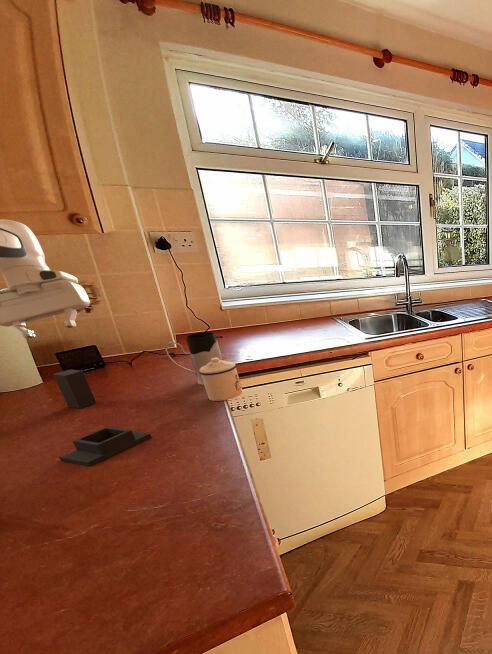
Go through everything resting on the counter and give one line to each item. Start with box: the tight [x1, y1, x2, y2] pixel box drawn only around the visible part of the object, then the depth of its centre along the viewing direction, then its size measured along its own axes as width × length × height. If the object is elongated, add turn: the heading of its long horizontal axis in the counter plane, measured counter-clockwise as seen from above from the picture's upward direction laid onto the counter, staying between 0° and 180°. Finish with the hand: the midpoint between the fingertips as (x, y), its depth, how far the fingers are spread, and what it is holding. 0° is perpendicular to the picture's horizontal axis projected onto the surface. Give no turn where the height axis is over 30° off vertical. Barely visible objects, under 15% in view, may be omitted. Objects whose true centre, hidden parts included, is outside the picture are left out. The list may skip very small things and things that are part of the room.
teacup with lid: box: [199, 358, 244, 402], centre depth 124 cm, size 12×9×12 cm
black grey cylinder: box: [164, 331, 224, 386], centre depth 134 cm, size 9×14×15 cm, turn 114°
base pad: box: [59, 426, 152, 467], centre depth 97 cm, size 13×9×4 cm
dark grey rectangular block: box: [52, 369, 97, 410], centre depth 119 cm, size 4×5×10 cm
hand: (50, 332), depth 113 cm, fingers open, 8 cm apart
